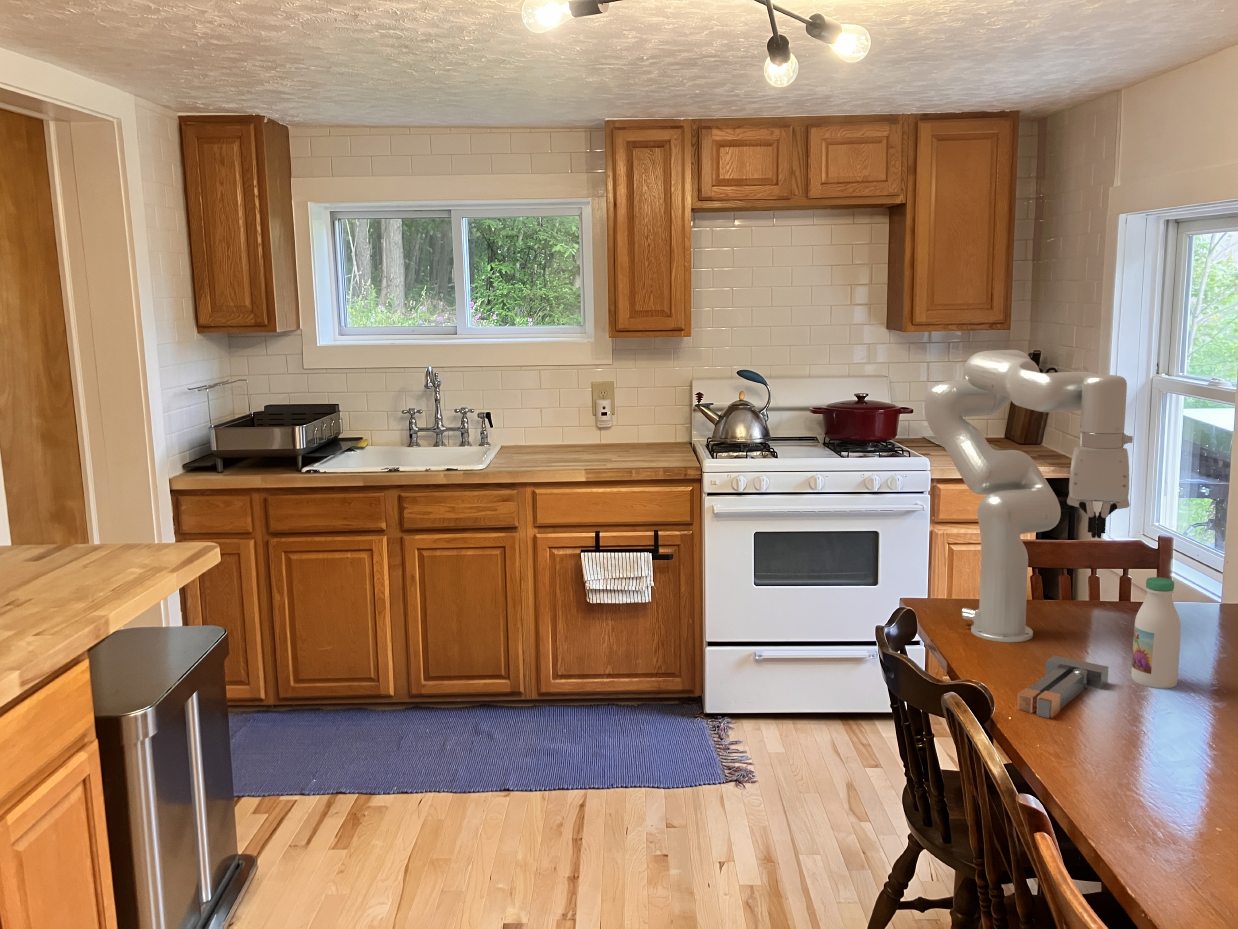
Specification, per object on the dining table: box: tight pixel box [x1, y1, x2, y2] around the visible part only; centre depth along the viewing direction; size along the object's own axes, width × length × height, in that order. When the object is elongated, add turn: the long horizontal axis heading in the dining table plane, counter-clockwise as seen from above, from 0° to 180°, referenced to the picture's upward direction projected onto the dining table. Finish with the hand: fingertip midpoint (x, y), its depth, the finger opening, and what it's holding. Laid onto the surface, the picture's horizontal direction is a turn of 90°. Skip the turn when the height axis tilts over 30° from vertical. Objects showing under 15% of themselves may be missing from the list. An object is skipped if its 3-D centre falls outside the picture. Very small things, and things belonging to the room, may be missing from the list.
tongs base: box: [1016, 654, 1109, 714], centre depth 183 cm, size 10×23×4 cm, turn 137°
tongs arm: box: [1036, 669, 1088, 719], centre depth 180 cm, size 19×3×3 cm, turn 137°
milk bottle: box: [1131, 576, 1181, 690], centre depth 188 cm, size 8×8×20 cm
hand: (1096, 536), depth 191 cm, fingers closed
